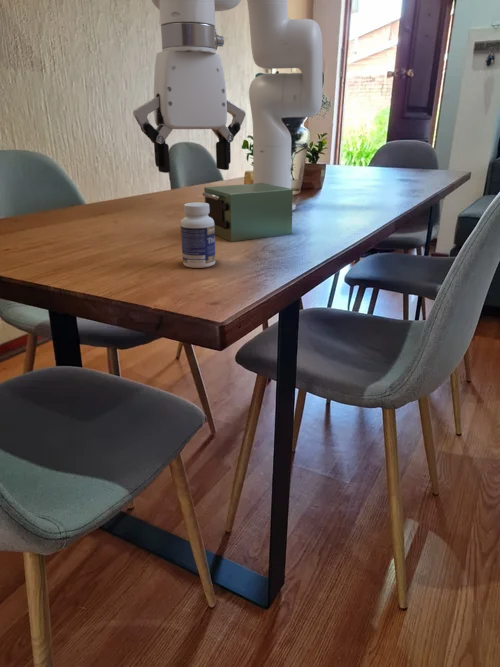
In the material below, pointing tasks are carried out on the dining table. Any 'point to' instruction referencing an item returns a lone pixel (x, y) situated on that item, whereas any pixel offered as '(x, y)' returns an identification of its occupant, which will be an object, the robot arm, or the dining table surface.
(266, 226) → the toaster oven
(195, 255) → the pill bottle
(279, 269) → the dining table surface
